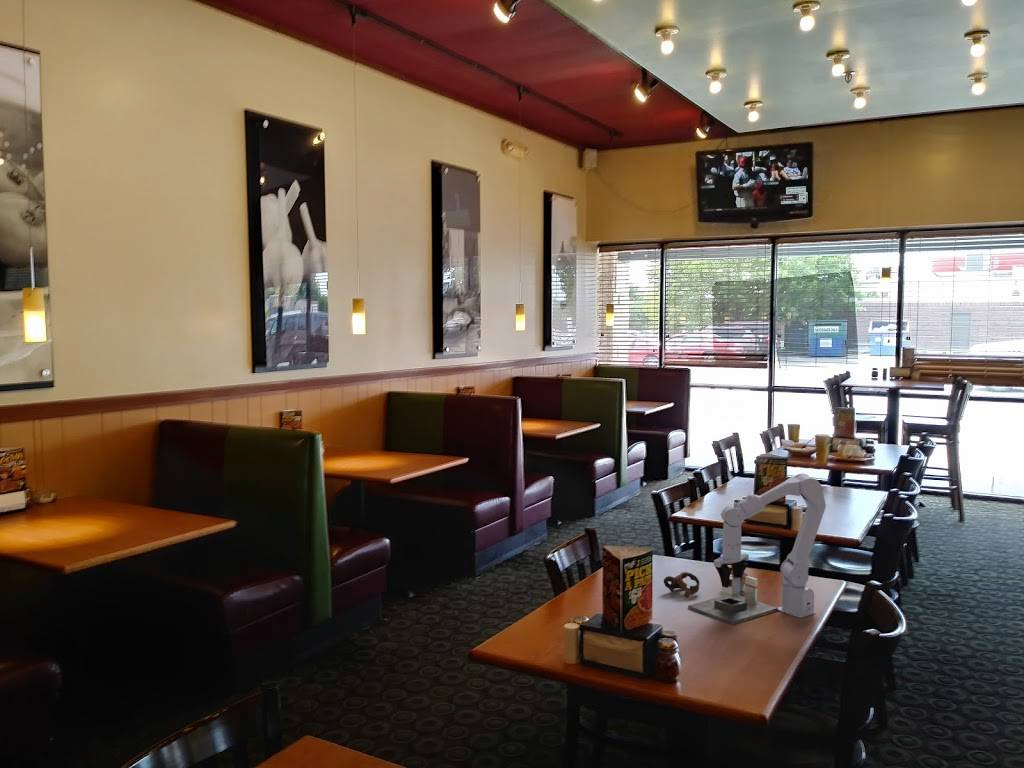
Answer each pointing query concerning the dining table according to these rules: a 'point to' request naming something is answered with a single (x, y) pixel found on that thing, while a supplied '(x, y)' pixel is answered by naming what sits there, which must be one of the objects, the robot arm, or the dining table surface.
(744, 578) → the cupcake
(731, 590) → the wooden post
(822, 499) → the robot arm
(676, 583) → the broken terracotta ring
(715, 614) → the stand base
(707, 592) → the dining table surface
